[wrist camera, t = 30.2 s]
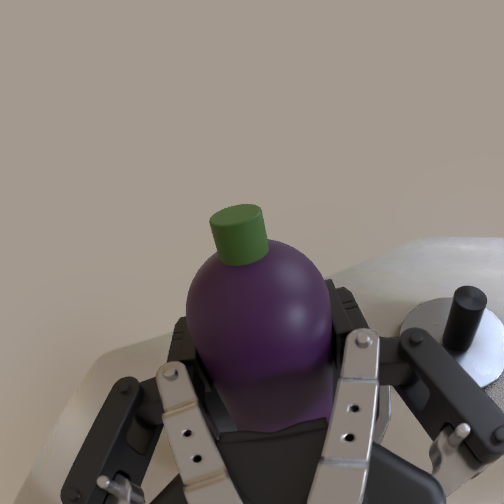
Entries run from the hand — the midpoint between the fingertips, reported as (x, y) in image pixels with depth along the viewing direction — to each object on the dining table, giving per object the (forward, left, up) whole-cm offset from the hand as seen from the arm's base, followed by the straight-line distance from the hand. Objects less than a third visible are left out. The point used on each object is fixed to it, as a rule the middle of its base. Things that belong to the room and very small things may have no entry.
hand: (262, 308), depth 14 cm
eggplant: (-2, +2, -6) cm, 7 cm away
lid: (-11, -18, -17) cm, 27 cm away
